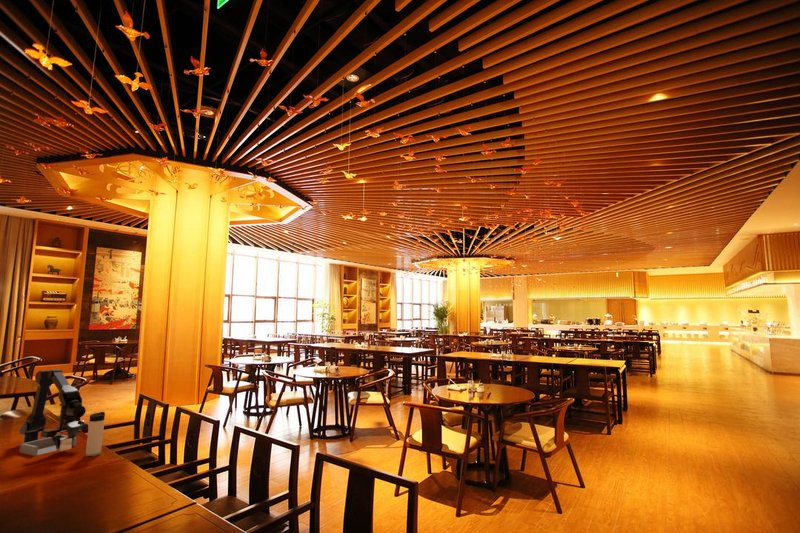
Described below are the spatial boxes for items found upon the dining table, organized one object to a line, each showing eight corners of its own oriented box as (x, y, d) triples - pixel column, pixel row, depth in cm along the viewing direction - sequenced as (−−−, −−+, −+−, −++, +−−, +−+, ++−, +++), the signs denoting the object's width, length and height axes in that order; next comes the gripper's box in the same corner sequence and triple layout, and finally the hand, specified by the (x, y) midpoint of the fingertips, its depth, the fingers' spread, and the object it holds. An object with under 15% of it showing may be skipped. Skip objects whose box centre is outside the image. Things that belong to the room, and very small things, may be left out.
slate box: (19, 453, 206) (20, 443, 207) (61, 443, 223) (62, 434, 224) (34, 456, 201) (35, 447, 202) (75, 446, 218) (76, 437, 219)
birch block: (55, 449, 206) (56, 439, 207) (65, 447, 210) (66, 437, 211) (60, 451, 205) (62, 440, 205) (71, 448, 209) (72, 438, 209)
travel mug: (104, 452, 208) (108, 412, 211) (93, 457, 202) (98, 414, 205) (93, 452, 209) (97, 411, 212) (82, 456, 203) (86, 414, 205)
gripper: (55, 421, 198) (51, 455, 196) (96, 413, 215) (93, 444, 213) (41, 418, 202) (37, 452, 200) (83, 411, 219) (80, 442, 217)
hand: (63, 447), depth 208 cm, fingers closed on birch block, 4 cm apart
